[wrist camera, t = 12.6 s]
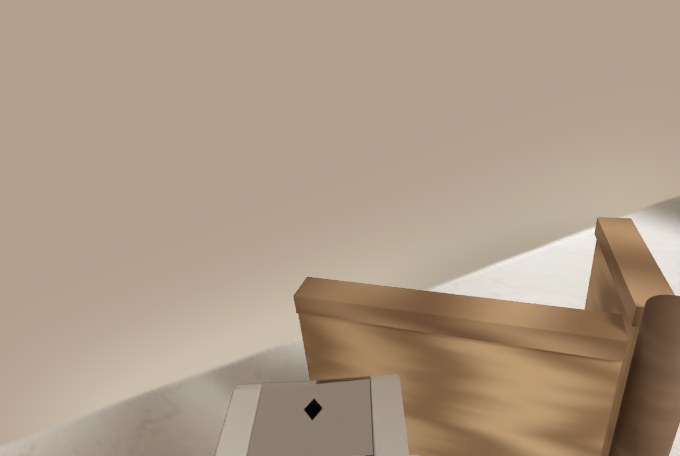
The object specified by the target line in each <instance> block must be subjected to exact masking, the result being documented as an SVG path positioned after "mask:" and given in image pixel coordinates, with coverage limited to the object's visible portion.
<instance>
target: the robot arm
mask: <svg viewBox="0 0 680 456" xmlns="http://www.w3.org/2000/svg"><path fill="white" fill-rule="evenodd" d="M214 456H419V455H418V454H409V450H408V442H407V434H406V426H405V418H404V410H403V402H402V394H401V385H400V378H399V376H398V374H391V375H378V376H371V378H370V376H365V377H352V378H339V379H326V380H317V381H300V382H276V383H264V384H241V385H237V387H236V388H235V390H234V391H233V394H232V397H231V401H230V404H229V407H228V411H227V414H226V418H225V421H224V425H223V428H222V431H221V435H220V438H219V442H218V445H217V449H216V452H215V455H214Z"/></svg>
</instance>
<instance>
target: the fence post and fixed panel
mask: <svg viewBox="0 0 680 456" xmlns="http://www.w3.org/2000/svg"><path fill="white" fill-rule="evenodd" d="M595 236H596V238H597V241H596V247H595V252H594V258H593V264H592V270H591V276H590V282H589V287H588V293H587V299H586V305H585V310H590V311H598V312H607V313H615V314H622V318H623V322H624V325H625V329H626V333H627V337H628V341H629V342H628V346H627V350H626V354H625V359H624V362H622V366H621V370H620V375H619V379H618V383H617V388H616V392H615V396H614V400H613V405H612V409H611V413H610V418H609V422H608V426H607V431H606V435H605V439H604V444H603V448H602V452H601V456H669V453H670V450H671V447H672V444H673V441H674V438H675V435H676V432H677V429H678V426H679V423H680V296H675V295H674V293H673V291H672V289H671V288H670V286H669V284H668V282H667V281H666V279H665V277H664V275H663V274H662V272H661V270H660V268H659V267H658V265H657V263H656V261H655V260H654V258H653V256H652V255H651V253H650V251H649V249H648V248H647V246H646V244H645V242H644V241H643V239H642V237H641V235H640V234H639V232H638V230H637V228H636V227H635V225H634V223H633V221H632V220H631V219H630V218H597V223H596V229H595Z"/></svg>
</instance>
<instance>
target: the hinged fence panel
mask: <svg viewBox="0 0 680 456" xmlns="http://www.w3.org/2000/svg"><path fill="white" fill-rule="evenodd" d="M294 301H295V306H296V312H297V313H298V314H299V320H300V325H301V331H302V337H303V343H304V348H305V354H306V360H307V365H308V371H309V377H310V381H317V380H326V379H339V378H352V377H365V376H370V378H371V376H378V375H391V374H398V376H399V378H400V385H401V394H402V402H403V410H404V418H405V426H406V434H407V442H408V450H409V454H418V455H419V456H601V452H602V448H603V444H604V439H605V435H606V431H607V426H608V422H609V418H610V413H611V409H612V405H613V400H614V396H615V392H616V388H617V383H618V379H619V375H620V370H621V366H622V362H624V359H625V354H626V350H627V346H628V342H629V341H628V337H627V333H626V329H625V325H624V322H623V318H622V314H615V313H607V312H598V311H590V310H582V309H573V308H565V307H556V306H548V305H540V304H531V303H523V302H514V301H506V300H497V299H489V298H481V297H472V296H464V295H455V294H447V293H439V292H430V291H422V290H413V289H405V288H396V287H388V286H380V285H370V284H362V283H354V282H346V281H338V280H329V279H321V278H312V277H307V278H306V279H305V281H304V282H303V283H302V285H301V286H300V288H299V289H298V290H297V292H296V293H295V294H294Z"/></svg>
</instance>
